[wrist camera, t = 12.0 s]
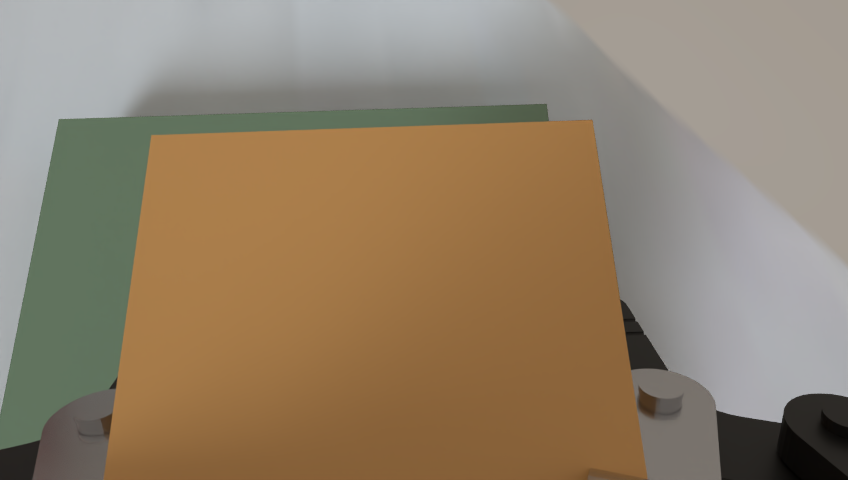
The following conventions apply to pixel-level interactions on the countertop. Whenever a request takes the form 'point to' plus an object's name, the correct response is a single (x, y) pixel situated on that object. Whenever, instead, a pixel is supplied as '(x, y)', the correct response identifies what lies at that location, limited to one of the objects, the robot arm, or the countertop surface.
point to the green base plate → (128, 243)
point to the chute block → (375, 309)
